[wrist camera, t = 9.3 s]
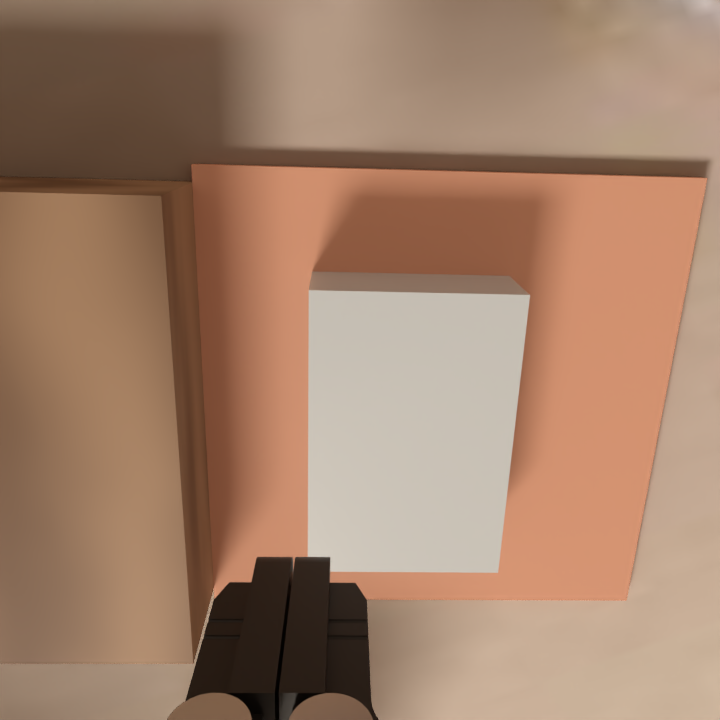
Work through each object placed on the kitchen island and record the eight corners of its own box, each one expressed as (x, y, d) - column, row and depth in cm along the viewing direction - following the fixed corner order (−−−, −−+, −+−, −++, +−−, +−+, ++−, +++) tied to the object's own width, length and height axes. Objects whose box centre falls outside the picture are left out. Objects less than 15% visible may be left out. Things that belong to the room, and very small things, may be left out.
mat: (700, 177, 20) (707, 178, 20) (622, 593, 25) (626, 600, 25) (194, 163, 20) (191, 164, 19) (216, 591, 25) (214, 598, 24)
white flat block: (308, 290, 18) (311, 271, 20) (307, 571, 21) (310, 527, 23) (530, 294, 18) (509, 275, 21) (498, 572, 21) (482, 529, 24)
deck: (194, 181, 20) (160, 195, 16) (215, 580, 25) (193, 663, 21) (-156, 172, 20) (-274, 185, 16) (-67, 578, 24) (-142, 663, 20)
